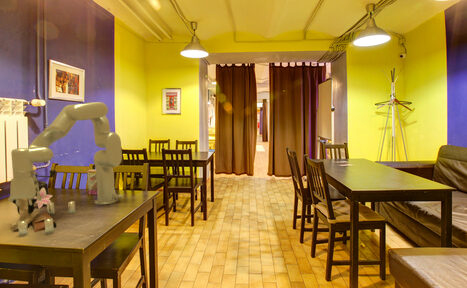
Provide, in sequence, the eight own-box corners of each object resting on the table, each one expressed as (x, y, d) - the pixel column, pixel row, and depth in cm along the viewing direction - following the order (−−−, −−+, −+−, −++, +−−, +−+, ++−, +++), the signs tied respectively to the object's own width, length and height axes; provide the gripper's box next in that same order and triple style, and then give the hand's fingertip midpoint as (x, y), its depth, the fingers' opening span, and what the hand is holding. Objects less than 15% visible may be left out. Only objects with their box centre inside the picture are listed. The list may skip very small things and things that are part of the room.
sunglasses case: (28, 222, 129) (35, 209, 131) (43, 225, 134) (50, 213, 135) (34, 233, 116) (42, 218, 118) (51, 236, 121) (59, 222, 123)
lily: (24, 212, 146) (30, 198, 144) (25, 199, 155) (31, 186, 153) (49, 214, 154) (55, 200, 152) (49, 201, 163) (55, 188, 161)
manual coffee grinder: (28, 202, 162) (26, 172, 160) (26, 198, 170) (24, 170, 168) (58, 196, 172) (56, 169, 171) (55, 193, 180) (53, 167, 179)
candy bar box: (87, 195, 176) (86, 170, 175) (92, 193, 181) (90, 169, 180) (104, 195, 175) (102, 170, 174) (108, 193, 180) (106, 169, 179)
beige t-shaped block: (39, 215, 134) (38, 192, 132) (22, 228, 118) (19, 202, 117) (30, 216, 133) (28, 192, 131) (11, 229, 117) (9, 203, 116)
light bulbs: (76, 211, 143) (75, 200, 143) (51, 233, 115) (50, 220, 114) (49, 213, 140) (48, 202, 140) (17, 236, 112) (16, 223, 112)
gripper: (47, 172, 129) (49, 209, 131) (7, 174, 126) (10, 211, 127) (39, 175, 122) (42, 214, 123) (-3, 177, 118) (0, 217, 120)
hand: (26, 212), depth 125 cm, fingers closed on beige t-shaped block, 3 cm apart
